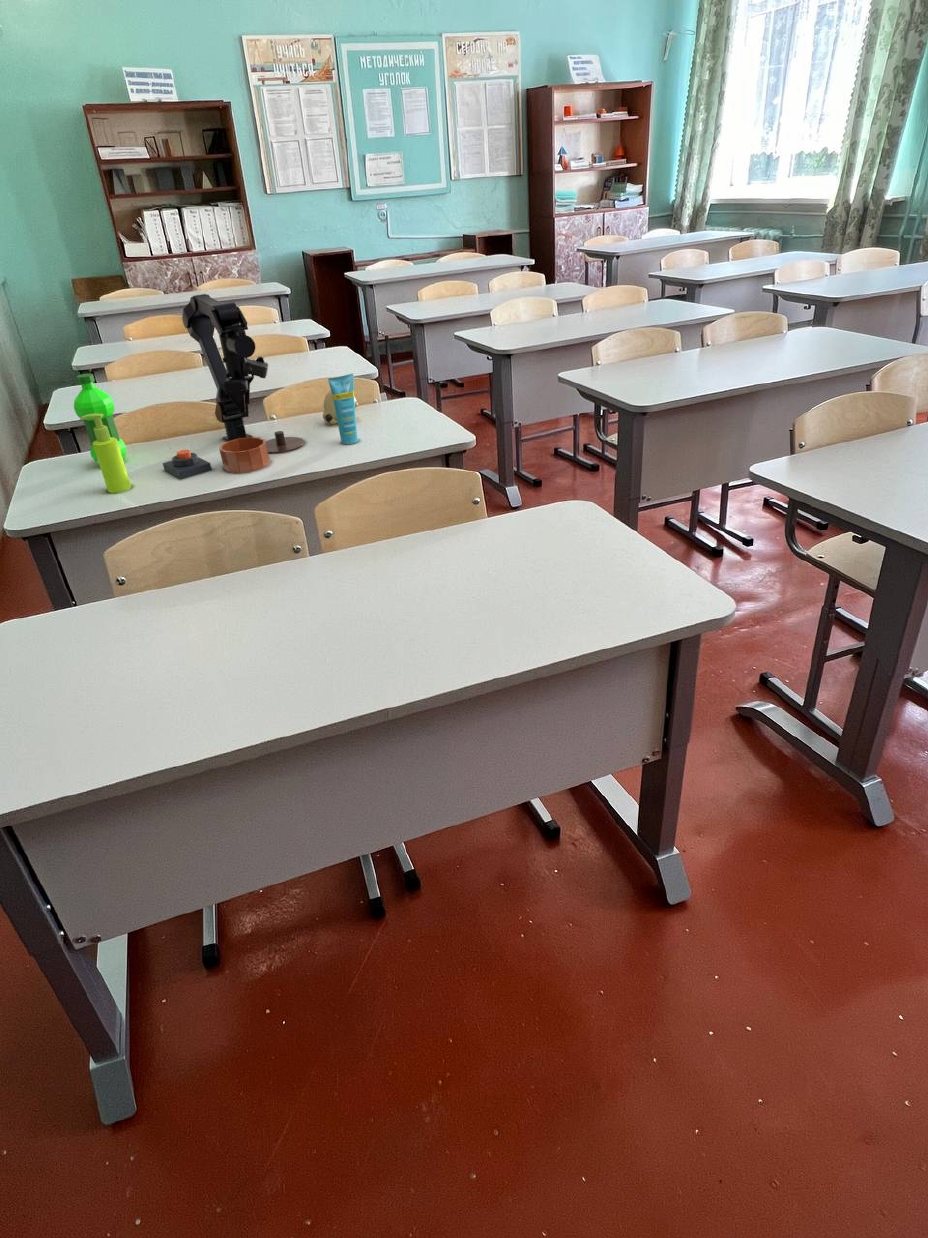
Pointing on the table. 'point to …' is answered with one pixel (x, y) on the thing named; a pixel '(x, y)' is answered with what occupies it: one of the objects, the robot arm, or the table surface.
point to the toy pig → (331, 409)
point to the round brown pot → (244, 455)
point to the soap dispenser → (109, 457)
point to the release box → (187, 466)
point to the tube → (344, 407)
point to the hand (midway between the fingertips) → (245, 408)
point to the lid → (283, 443)
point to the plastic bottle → (96, 410)
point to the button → (183, 454)
